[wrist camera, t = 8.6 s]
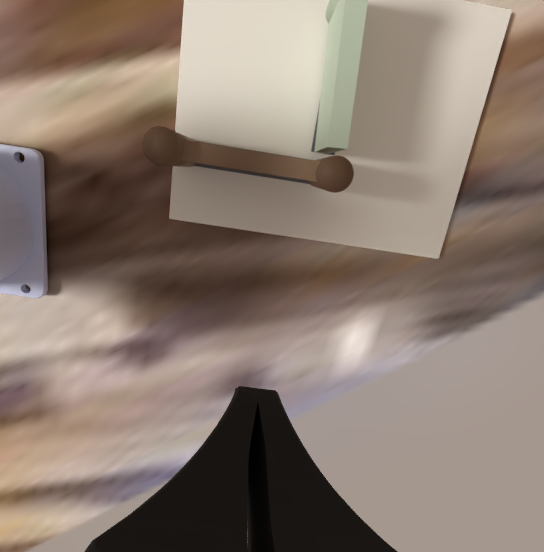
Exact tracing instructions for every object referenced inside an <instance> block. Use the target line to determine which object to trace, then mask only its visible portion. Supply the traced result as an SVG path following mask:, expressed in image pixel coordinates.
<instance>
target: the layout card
mask: <svg viewBox="0 0 544 552" xmlns="http://www.w3.org/2000/svg"><path fill="white" fill-rule="evenodd" d="M329 1H330V0H184V9H183V24H182V38H181V53H180V67H179V82H178V96H177V111H176V126H175V132H177V133H180V134H182V135H184V136H187V137H189V138H191V139H193V140H195V141H196V142H202V143H208V144H214V145H220V146H226V147H233V148H239V149H245V150H251V151H257V152H264V153H270V154H276V155H282V156H288V157H294V158H301V159H307V160H313V161H314V160H317V159H321V158H326V157H330V156H335V155H339V156H343V157H345V158H347V159H348V160H349V161H350V163H351V164H352V166H353V170H354V176H353V180H352V182H351V184H350V185H349V186H348V188H346V189H345V190H343V191H341V192H337V193H333V192H329V191H326V190H323V189H320V188H317V187H314V186H312V185H310V184H309V182H308V181H307V180H302V179H296V178H289V177H283V176H277V175H270V174H264V173H258V172H251V171H245V170H239V169H232V168H226V167H220V166H213V165H207V164H201V163H197V164H196V165H194V166H192V167H181V166H173V169H172V184H171V198H170V213H169V219H174V220H180V221H187V222H194V223H200V224H207V225H214V226H221V227H227V228H234V229H241V230H248V231H254V232H261V233H268V234H274V235H281V236H288V237H295V238H301V239H308V240H315V241H321V242H328V243H335V244H342V245H348V246H355V247H362V248H369V249H375V250H382V251H389V252H395V253H402V254H409V255H416V256H422V257H429V258H436V259H439V256H440V253H441V249H442V246H443V242H444V239H445V236H446V232H447V229H448V225H449V222H450V219H451V215H452V212H453V209H454V205H455V202H456V198H457V195H458V192H459V188H460V185H461V181H462V178H463V175H464V171H465V168H466V164H467V161H468V158H469V154H470V151H471V148H472V144H473V141H474V137H475V134H476V131H477V127H478V124H479V120H480V117H481V114H482V110H483V107H484V104H485V100H486V97H487V93H488V90H489V87H490V83H491V80H492V76H493V73H494V70H495V66H496V63H497V60H498V56H499V53H500V49H501V46H502V43H503V39H504V36H505V32H506V29H507V26H508V22H509V19H510V15H511V12H512V10H510V9H505V8H500V7H494V6H489V5H484V4H479V3H474V2H468V1H463V0H368V5H367V12H366V19H365V26H364V34H363V41H362V48H361V55H360V62H359V70H358V77H357V84H356V91H355V98H354V106H353V113H352V120H351V127H350V134H349V142H348V149H345V150H341V151H338V152H334V153H330V154H329V153H318V152H314V150H315V141H316V133H317V124H318V115H319V106H320V97H321V89H322V80H323V71H324V62H325V53H326V45H327V36H328V27H329V24H328V22H327V20H326V9H327V6H328V3H329Z"/></svg>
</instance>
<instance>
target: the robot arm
mask: <svg viewBox="0 0 544 552" xmlns="http://www.w3.org/2000/svg"><path fill="white" fill-rule="evenodd" d="M20 153H22V154H23V155H24V157H25V159H24V161H23V162H22V161H21V160H20V158H19V155H20ZM26 285H28V286H29V287H30V289H31V290H30V291H29V290H27V289H26ZM47 291H48V276H47V243H46V211H45V178H44V159H43V156H42V154H41V153H40V152H39V151H38V150H35V149H31V148H25V147H19V146H12V145H6V144H0V293H1V294H9V295H16V296H24V297H31V298H40V297H42V296H44V295H46V293H47ZM247 529H248V547H247ZM85 552H397V551H396V550H395V549H393V548H392V547H391V546H390V545H389V544H387V543H386V542H385V541H384V540H383V539H382V538H381V537H380V536H378V535H377V534H376V533H375V532H374V531H373V530H372V529H371V528H370V527H369V526H368V525H367V524H366V523H365V522H364V521H363V520H362V519H361V518H360V517H359V516H358V515H357V514H356V513H355V512H354V511H353V510H352V509H351V508H350V506H348V505H347V503H346V502H345V501H344V500H343V499H342V498H341V497H340V496H339V494H338V493H337V492H336V491H335V490H334V488H333V487H332V486H331V485H330V483H329V482H328V481H327V480H326V478H325V477H324V476H323V474H322V473H321V472H320V470H319V469H318V467H317V466H316V464H315V463H314V462H313V460H312V459H311V457H310V456H309V454H308V453H307V451H306V449H305V448H304V446H303V444H302V443H301V441H300V439H299V437H298V435H297V434H296V432H295V430H294V428H293V426H292V424H291V422H290V420H289V418H288V416H287V414H286V412H285V410H284V407H283V405H282V403H281V400H280V398H279V395H278V393H277V392H276V391H274V390H266V389H258V388H250V387H242V386H239V387H238V388H236V389H235V393H234V396H233V398H232V400H231V402H230V404H229V406H228V408H227V410H226V412H225V413H224V415H223V416H222V418H221V420H220V421H219V423H218V424H217V426H216V427H215V429H214V430H213V431H212V433H211V434H210V435H209V437H208V438H207V440H206V441H205V442H204V444H203V445H202V446H201V447H200V448H199V450H198V451H197V452H196V453H195V454H194V456H193V457H192V458H191V459H190V460H189V461H188V462H187V463H186V465H185V466H184V467H183V468H182V469H181V470H180V471H179V472H178V473H177V474H176V475H175V476H174V477H173V478H172V479H171V480H170V481H169V482H168V483H166V484H165V485H164V486H163V487H162V488H161V489H160V490H159V491H158V492H156V493H155V494H154V495H153V496H152V497H150V498H149V499H148V500H147V501H146V502H145V503H143V504H142V505H141V506H140V507H138V508H137V509H136V510H135V511H133V512H132V513H131V514H130V515H128V516H127V517H125V518H124V519H123V520H121V521H120V522H118V523H117V524H116V525H114V526H113V527H111V528H110V529H108V530H107V531H106V532H104V533H103V534H101V535H100V536H99V537H97V538H96V539H94V540H93V541H92V542H91V544H90V545H89V546H88V548H87V549H86V550H85Z"/></svg>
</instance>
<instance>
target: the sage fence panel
mask: <svg viewBox="0 0 544 552" xmlns="http://www.w3.org/2000/svg"><path fill="white" fill-rule="evenodd" d="M367 5H368V0H330V1H329V3H328V6H327V9H326V20H327V22H328V24H329V27H328V36H327V45H326V53H325V62H324V71H323V80H322V89H321V97H320V106H319V115H318V124H317V133H316V141H315V150H314V152H318V153H329V154H330V153H334V152H338V151H341V150H345V149H348V142H349V134H350V127H351V120H352V113H353V106H354V98H355V91H356V84H357V77H358V70H359V62H360V55H361V48H362V41H363V34H364V26H365V19H366V12H367Z"/></svg>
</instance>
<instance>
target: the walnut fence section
mask: <svg viewBox="0 0 544 552" xmlns="http://www.w3.org/2000/svg"><path fill="white" fill-rule="evenodd" d="M142 147H143V151H144V154H145V155H146V157H147V158H148V159H149V160H150V161H151V162H152V163H154V164H157V165H162V166H181V167H192V166H194V165H196V164H197V163H201V164H207V165H213V166H220V167H226V168H232V169H239V170H245V171H251V172H258V173H264V174H270V175H277V176H283V177H289V178H296V179H302V180H307V181H308V182H309V184H310V185H312V186H314V187H317V188H320V189H323V190H326V191H329V192H333V193H337V192H341V191H343V190H345V189H346V188H348V186H349V185H350V184H351V182H352V180H353V176H354V170H353V166H352V164H351V163H350V161H349V160H348V159H347V158H345V157H343V156H339V155H335V156H330V157H326V158H321V159H317V160H314V161H313V160H307V159H301V158H294V157H288V156H282V155H276V154H270V153H264V152H257V151H251V150H245V149H239V148H233V147H226V146H220V145H214V144H208V143H202V142H196V141H195V140H193V139H191V138H189V137H187V136H184V135H182V134H180V133H177V132H175V131H173V130H170V129H168V128H165V127H161V126H157V127H153V128H151V129H150V130H148V131H147V132H146V134H145V135H144V138H143V142H142Z"/></svg>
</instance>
